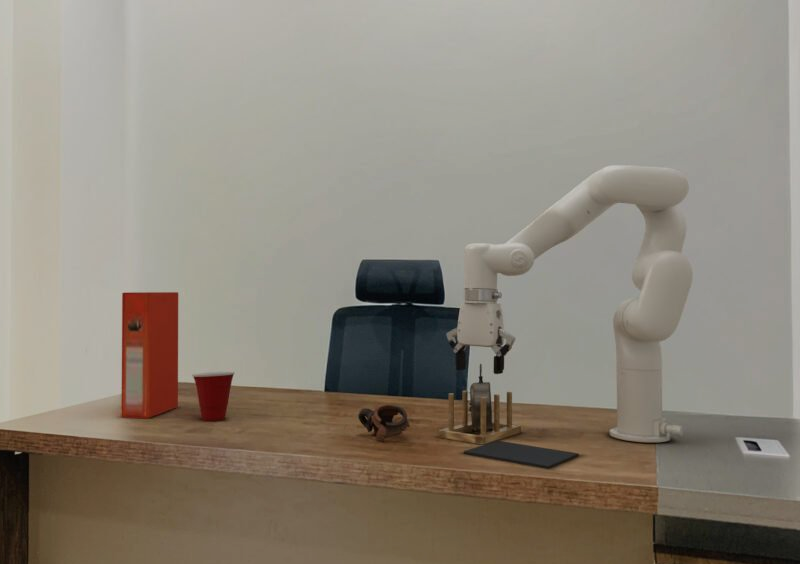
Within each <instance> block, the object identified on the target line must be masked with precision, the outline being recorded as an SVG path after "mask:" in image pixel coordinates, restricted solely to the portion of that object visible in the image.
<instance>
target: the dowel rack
mask: <svg viewBox="0 0 800 564" xmlns="http://www.w3.org/2000/svg"><path fill="white" fill-rule="evenodd" d="M461 392H462V393H461V395H462V397H461V399H462V404H461V405H462V406H461V407H462V408H461V410H462V411H461V412H462V416H461V417H462V418H461V419H462V421H461V422H462V424H458V425H455V394H454V393H448V427H446V428H443V429H438V438H441V439H447V440H454V441H459V442H466V443H471V444H478V445H485V444H489V443H492V442H495V441H500V440H502V439H505V438H508V437H512V436H515V435H518V434H521V433H522V425H519V424H518V425H517V424H513V391H506V423H503V422H500V421H501V420H500V418H501V417H500V416H501V415H500V413H501V412H500V411H501V409H500V408H501V407H500V403H501V402H500V401H501V399H500V398H501V397H500V396H501V395H500V394H499V393H497V394H496V393H494V394H493V421H492V425H493V430H492V431H487V433H486V397H481V431H480V434H473V433H471V432H472V429H473V427H472V421H469V419H468V417H469V415H468V414H469V413H468V411H469V408H468V405H469V398H468V397H469V396H468V395H469V392H468V390H462V391H461ZM475 431H476V430H474V431H473V432H475Z"/></svg>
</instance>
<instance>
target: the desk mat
mask: <svg viewBox="0 0 800 564" xmlns="http://www.w3.org/2000/svg"><path fill="white" fill-rule="evenodd" d="M463 454H464V455H470V456H475V457H481V458H486V459H492V460H498V461H503V462H509V463H514V464H519V465H520V464H521V465H525V466H531V467H537V468H542V469H547V470H548V469H551V468H554V467H556V466H558V465H561V464H563V463H565V462H567V461H568V462H569V461H570V460H572V459H575V458H577V457H580V454H579V452H571V451H567V450H565V451H564V450H560V449H553V448H546V447H541V446H535V445H527V444H523V443H522V444H521V443H515V442H510V441H502V440H496V441H493V442H490V443H486V444H481V445H480V446H476V447H473V448H470V449H467V450H464V451H463Z"/></svg>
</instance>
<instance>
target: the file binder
mask: <svg viewBox="0 0 800 564" xmlns="http://www.w3.org/2000/svg"><path fill="white" fill-rule="evenodd" d="M120 405H121V409H120V411H121V413H120V414H121V418H126V419H127V418H128V419H130V418H131V419H150V418H152V417H155V416H158V415H160V414H163V413H165V412H166V413H167V412H168V411H171V410H173V409H176V408H178V407H179V291H177V292H176V291H175V292H174V291H169V292H168V291H167V292H166V291H161V292H159V291H157V292H156V291H155V292H153V291H151V292H149V291H147V292H143V291H142V292H141V291H140V292H139V291H138V292H137V291H135V292H131V291H130V292H121V403H120Z"/></svg>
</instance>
